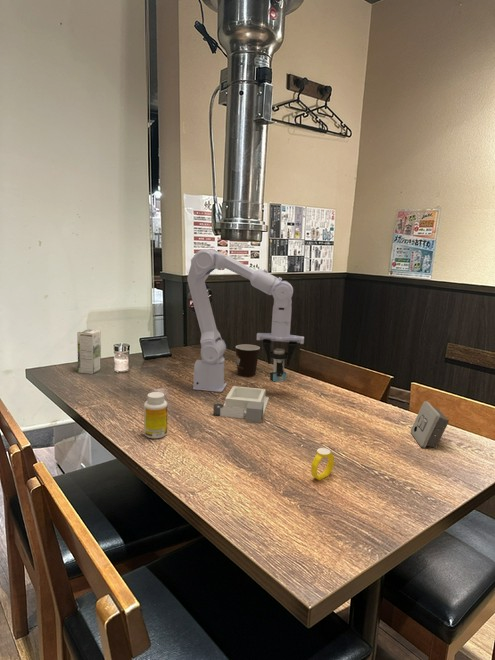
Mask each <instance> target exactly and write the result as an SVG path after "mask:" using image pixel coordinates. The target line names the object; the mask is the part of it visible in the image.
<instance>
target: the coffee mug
mask: <svg viewBox="0 0 495 660" xmlns="http://www.w3.org/2000/svg"><path fill="white" fill-rule="evenodd" d="M260 348H261V347H260V346H258V345H256V344H255V345H254V344H248V343H247V344H246V343H245V344H238V345H236V346H235V355H236V367H237V368H236V371H237V375H238V376H240V377H243V378H252V377H254V376H256V373H257V367H258V360H259V356H260V355H259V354H260Z"/></svg>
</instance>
